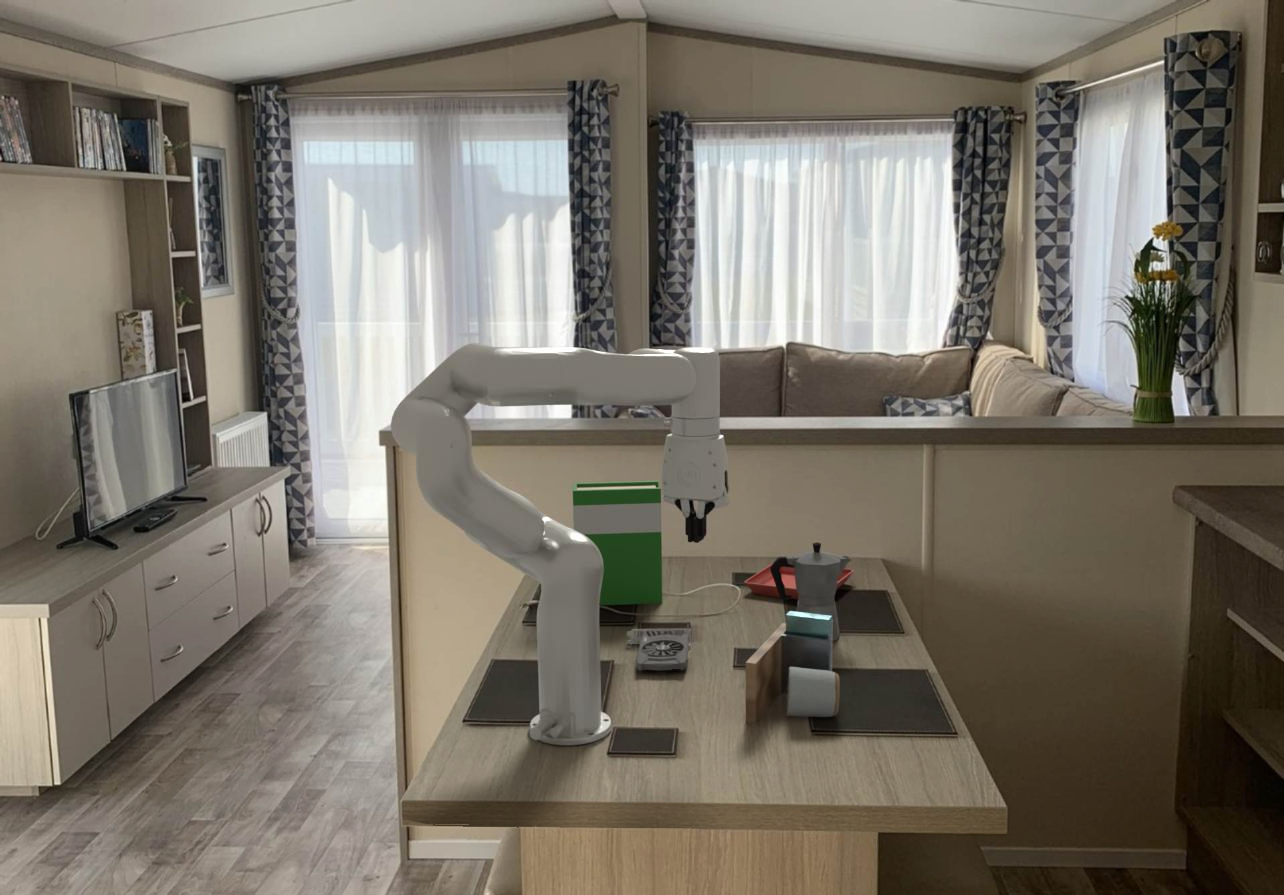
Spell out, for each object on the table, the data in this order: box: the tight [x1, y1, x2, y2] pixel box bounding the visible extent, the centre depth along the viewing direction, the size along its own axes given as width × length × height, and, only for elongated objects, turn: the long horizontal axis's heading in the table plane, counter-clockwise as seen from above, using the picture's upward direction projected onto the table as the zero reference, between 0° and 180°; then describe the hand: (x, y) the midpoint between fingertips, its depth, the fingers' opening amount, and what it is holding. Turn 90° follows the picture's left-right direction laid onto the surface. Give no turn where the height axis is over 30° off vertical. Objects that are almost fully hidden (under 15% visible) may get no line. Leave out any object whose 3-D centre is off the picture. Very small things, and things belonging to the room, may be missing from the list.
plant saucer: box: [744, 562, 855, 601], centre depth 262 cm, size 18×18×3 cm
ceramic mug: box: [786, 667, 841, 718], centre depth 197 cm, size 11×8×8 cm
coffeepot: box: [770, 542, 852, 642], centre depth 231 cm, size 15×9×18 cm, turn 99°
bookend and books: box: [781, 610, 833, 695], centre depth 205 cm, size 6×8×13 cm
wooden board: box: [745, 622, 786, 726], centre depth 201 cm, size 20×2×10 cm, turn 157°
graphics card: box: [626, 627, 692, 671], centre depth 222 cm, size 17×4×12 cm
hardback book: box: [572, 480, 663, 606], centre depth 254 cm, size 18×7×24 cm, turn 94°
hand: (695, 540), depth 198 cm, fingers closed
